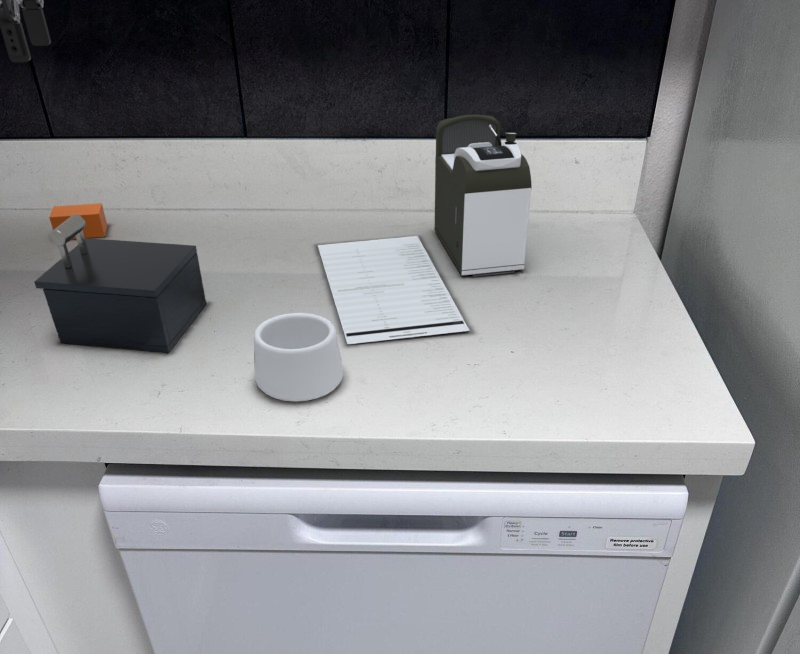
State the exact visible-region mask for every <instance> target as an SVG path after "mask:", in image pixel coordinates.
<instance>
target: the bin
mask: <svg viewBox="0 0 800 654" xmlns="http://www.w3.org/2000/svg"><path fill="white" fill-rule="evenodd" d="M203 283H204V282H203V278H202V272H201V267H200V262H199V255H198V252H196V254H195V255H194V256H193V257H192V258H191V259H190V260H189V261H188V262H187V264H186V265H185V266H184V267H183V268H182V269H181V270H180V271H179V273H178V274H177V275H176V276H175V277H174V278H173V279H172V280H171V282H170V283H169V284H168V285H167V286H166V287H165V288H164V289H163V290H162V292H161V293H160V294H159V295H158V296H157V297H143V296H130V295H118V294H105V293H92V292H79V291H66V290H53V289H42V292H43V294H44V297H45V300H46V304H47V306H48V310H49V312H50V315H51V319H52V322H53V324H54V327H55V331H56V333H57V337H58V340H59V342H60V344H62V345H63V344H64V345H75V346H85V347H86V346H87V347H95V348H96V347H97V348H109V349H119V350H120V349H122V350H132V351H142V352H143V351H144V352H155V353H166V354H169V353H170V352H171V351H172V349H173V348H174V347H175V346H176V345H177V343H178V342H179V340H180V339H181V338H182V337H183V335H184V334H185V333H186V331H187V330H188V329H189V328H190V326H191V325H192V323H194V321H195V320H196V319H197V317H198V316H199V315H200V314H201V312H202V311H203V309H204V308H205V307H206V306H207V299H206V294H205V288H204V284H203Z"/></svg>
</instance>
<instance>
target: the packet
mask: <svg viewBox="0 0 800 654" xmlns="http://www.w3.org/2000/svg"><path fill="white" fill-rule="evenodd" d="M51 209H52V210H51V212H50V214H49V217H48V218H49V223H50V225H51V229H52V231H53V230H54V229H56V228H57V227H58V226H59V225H61V224H62V223H63V222H65V221H66V220H67V219H68V218H70V217H71V216H72V215H79V216H81V217H82V218H83V219H84V221H85V224H86V225H85V228H84V229H83V234H84V238H91V239H95V238H104V237H105V236H106V233H107V229H108V223H107V218H106V214H105V211H104V210H105V209H104V206H103V203H102V202H100V203H84V204H70V205H54V206H52V208H51ZM105 238H106V237H105ZM71 240H77V239H76V236H75V237H73V238H72V239H71Z"/></svg>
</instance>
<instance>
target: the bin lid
mask: <svg viewBox="0 0 800 654" xmlns="http://www.w3.org/2000/svg"><path fill="white" fill-rule="evenodd" d="M85 225H86V224H85V221H84V219H83V218H82V217H81V216H79V215H72V216H71V217H70V218H68V219H67V220H66V221H65V222H63V223H62V224H61V225H59V226H58V227H57V228H56V229H54V230H53V229H52V231H50V234H49V238H50V241H51V243H53V244H54V245H55V246H56V247H58V251H59V254H60V257H61V259H59V260H58V261H57V262H56V263H54V264H53V265H52V266H50V267H49V268H48V269H47V270H46V271H45V272H44V273H43V274H42V275H40V276H39V277H38V278H37V279H35V280H34V281H33V282H34V287H35V288H36V289H39V290H43V289H53V290H66V291H79V292H92V293H105V294H118V295H130V296H143V297H157V296H158V295H159V294H160V293H161V292H162V290H163V289H164V288H165V287H166V286H167V285H168V284H169V283H170V282H171V280H172V279H173V278H174V277H175V276H176V275H177V274H178V273H179V271H180V270H181V269H182V268H183V267H184V266H185V265H186V264H187V262H188V261H189V260H190V259H191V258H192V257H193V256H194V255H195V254H196V253H198V250H197V249H198V248H197V245H192V244H177V243H163V242H162V243H161V242H148V241H135V240H134V241H132V240H117V239H103V238H84V234H83V229H84V228H85ZM75 236H76V239H75V240H76V243H77V245H76V246H74V248H72V249H71V250H70V251H69V250H68V246H67V243H68V242H70V241H71V240H73V239H72V238H73V237H75Z"/></svg>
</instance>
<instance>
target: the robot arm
mask: <svg viewBox="0 0 800 654" xmlns="http://www.w3.org/2000/svg"><path fill="white" fill-rule="evenodd" d="M44 6H45V1H44V0H0V31H1V34H2V35H1V36H2V38H3V41H4V45H5V48H6V52H7V55H8V58H9V60H10V61H11V62H12V63H28V62H29V61H31V59H32V55H31V52H30V49H29V44H28V41H27V38H26V33H25V30H24V28H23V23H22V22H21V12H22V15H23V20H24V22H25V26H26V30H27V33H28V38H29V41H30V44H31V45H32V46H34V47H48V46H50V45H51V43H52V40H51V35H50V32H49V28H48V24H47V20H46V17H45V14H44V9H43V8H44ZM20 7H21V8H22V9H21V11H20Z"/></svg>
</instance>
